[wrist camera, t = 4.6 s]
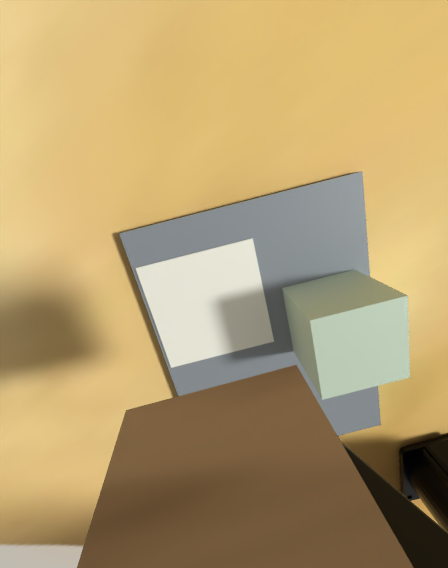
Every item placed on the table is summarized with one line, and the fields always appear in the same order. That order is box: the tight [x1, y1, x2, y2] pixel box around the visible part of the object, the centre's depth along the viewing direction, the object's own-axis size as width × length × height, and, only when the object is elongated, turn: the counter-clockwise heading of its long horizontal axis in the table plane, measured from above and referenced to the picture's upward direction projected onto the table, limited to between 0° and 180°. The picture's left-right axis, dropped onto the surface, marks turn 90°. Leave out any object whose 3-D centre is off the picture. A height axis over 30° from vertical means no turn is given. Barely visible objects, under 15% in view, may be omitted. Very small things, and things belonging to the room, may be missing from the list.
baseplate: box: [119, 172, 381, 436], centre depth 20 cm, size 20×15×1 cm
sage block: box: [282, 270, 410, 400], centre depth 17 cm, size 5×5×5 cm
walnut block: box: [77, 365, 413, 568], centre depth 6 cm, size 5×5×5 cm
